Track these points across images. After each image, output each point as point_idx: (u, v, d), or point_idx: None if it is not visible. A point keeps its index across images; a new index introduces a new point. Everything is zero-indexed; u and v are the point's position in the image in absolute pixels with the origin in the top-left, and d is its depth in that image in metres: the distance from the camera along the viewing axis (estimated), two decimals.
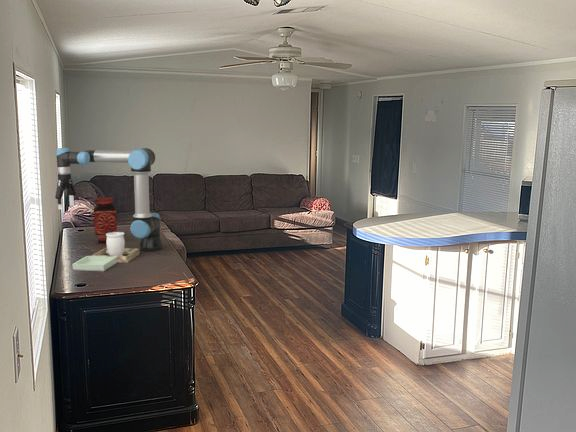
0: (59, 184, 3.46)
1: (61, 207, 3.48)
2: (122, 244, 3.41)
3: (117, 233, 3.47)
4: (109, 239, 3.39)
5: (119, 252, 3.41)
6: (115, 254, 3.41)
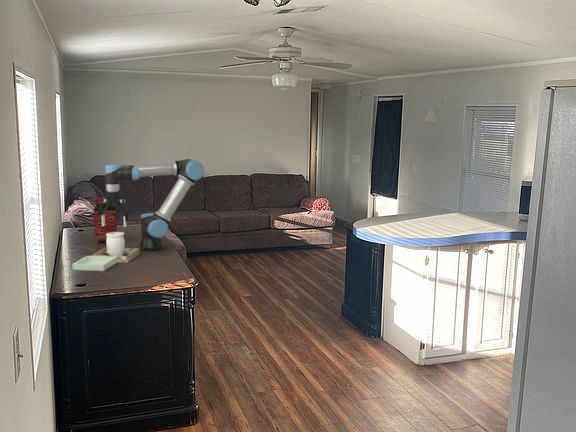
0: None
1: None
2: (122, 244, 3.41)
3: (117, 233, 3.47)
4: (109, 239, 3.39)
5: (119, 252, 3.41)
6: (115, 254, 3.41)
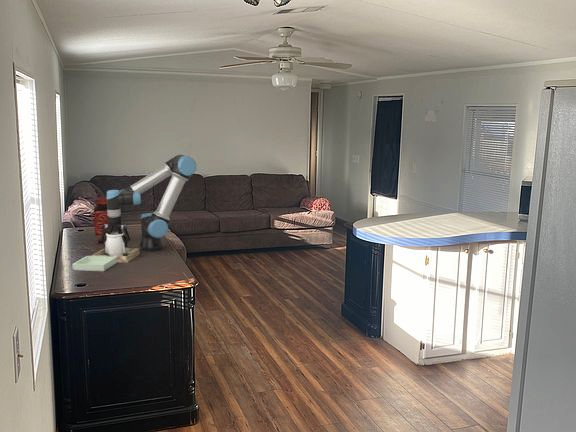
0: None
1: None
2: (122, 244, 3.41)
3: (117, 233, 3.47)
4: (109, 239, 3.38)
5: (119, 252, 3.41)
6: (115, 254, 3.41)
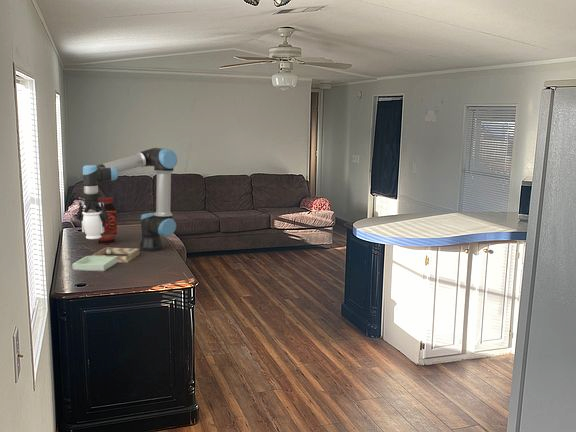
0: None
1: None
2: (100, 223, 3.19)
3: (95, 212, 3.25)
4: (86, 218, 3.16)
5: (97, 231, 3.19)
6: (92, 234, 3.18)
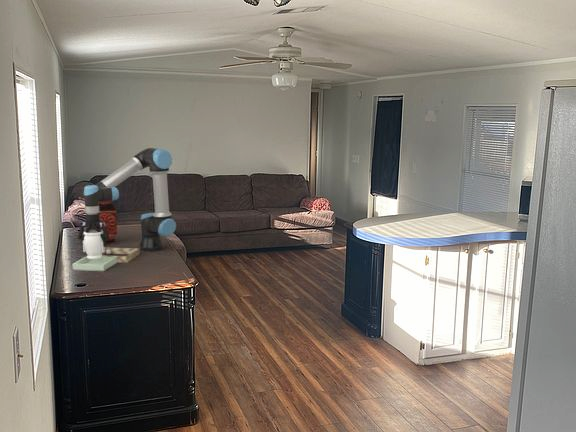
0: None
1: None
2: (101, 243, 3.21)
3: (96, 231, 3.27)
4: (87, 238, 3.18)
5: (98, 251, 3.21)
6: (93, 253, 3.20)
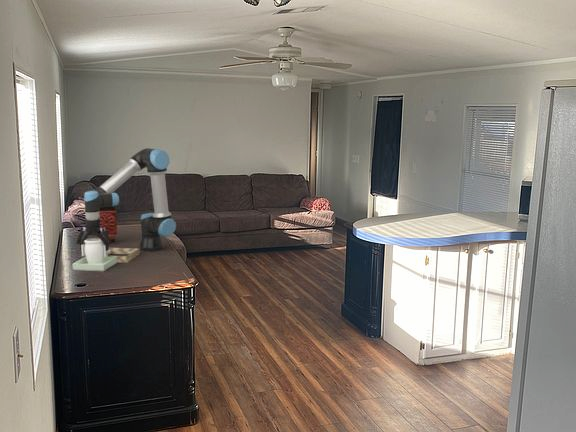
0: None
1: None
2: (101, 251, 3.22)
3: (96, 239, 3.28)
4: (88, 246, 3.19)
5: (99, 259, 3.22)
6: (94, 261, 3.21)
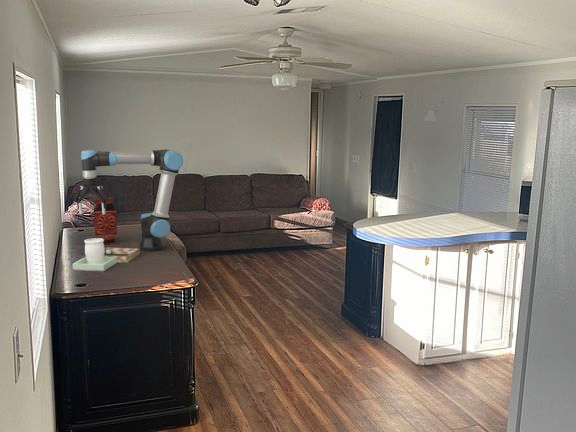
0: None
1: None
2: (101, 251, 3.22)
3: (97, 239, 3.28)
4: (88, 246, 3.19)
5: (99, 259, 3.22)
6: (94, 262, 3.21)
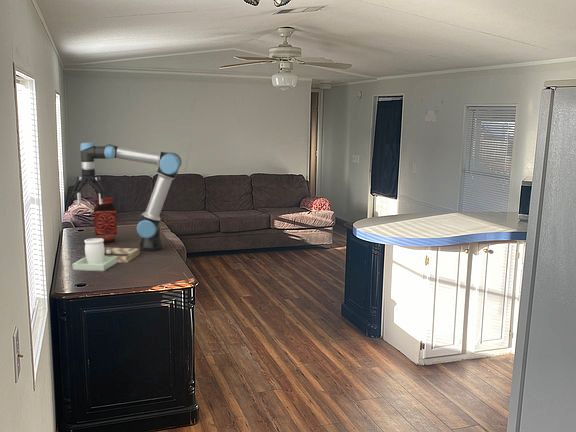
0: None
1: None
2: (101, 251, 3.22)
3: (97, 239, 3.28)
4: (88, 246, 3.19)
5: (99, 259, 3.22)
6: (94, 262, 3.21)
